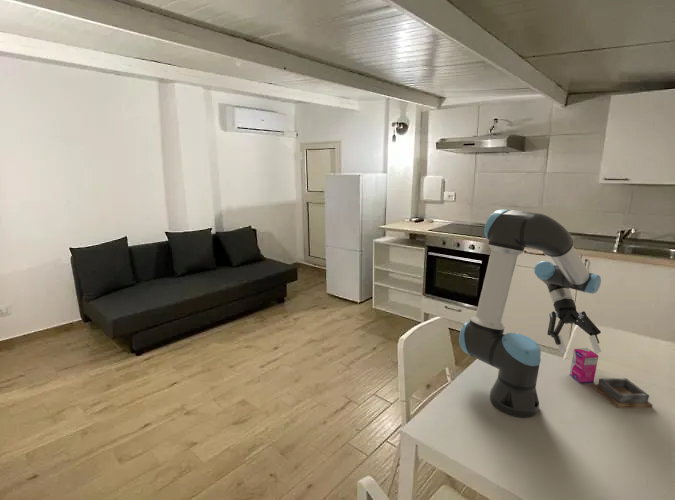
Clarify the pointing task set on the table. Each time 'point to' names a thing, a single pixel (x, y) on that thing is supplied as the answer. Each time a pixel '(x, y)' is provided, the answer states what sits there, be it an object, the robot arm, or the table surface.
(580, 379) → the supplement box
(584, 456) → the table surface
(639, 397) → the socket
